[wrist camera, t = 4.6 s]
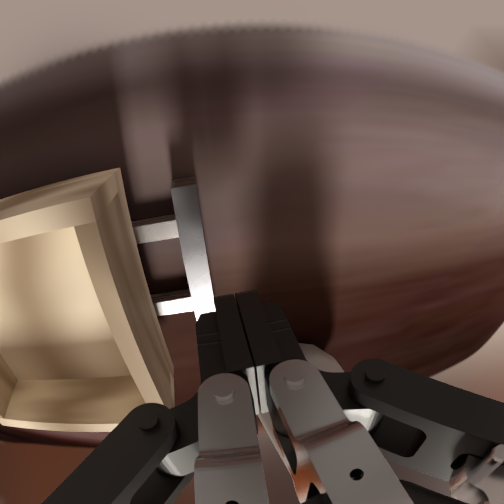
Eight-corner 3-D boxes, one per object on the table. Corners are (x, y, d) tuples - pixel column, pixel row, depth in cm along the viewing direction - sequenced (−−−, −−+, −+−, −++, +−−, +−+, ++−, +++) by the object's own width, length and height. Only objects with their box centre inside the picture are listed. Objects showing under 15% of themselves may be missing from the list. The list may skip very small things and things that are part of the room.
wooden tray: (-43, 210, 11) (-102, 256, 6) (126, 161, 12) (90, 197, 7) (26, 361, 15) (2, 425, 11) (173, 349, 17) (175, 428, 12)
